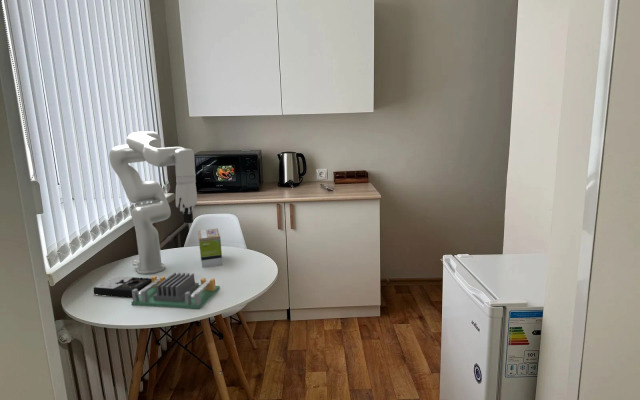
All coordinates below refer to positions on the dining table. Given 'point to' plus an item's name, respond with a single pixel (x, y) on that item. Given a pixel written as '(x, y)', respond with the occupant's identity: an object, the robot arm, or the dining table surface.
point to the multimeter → (121, 286)
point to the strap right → (200, 289)
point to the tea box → (210, 247)
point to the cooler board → (175, 292)
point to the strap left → (149, 286)
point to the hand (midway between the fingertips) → (188, 222)
